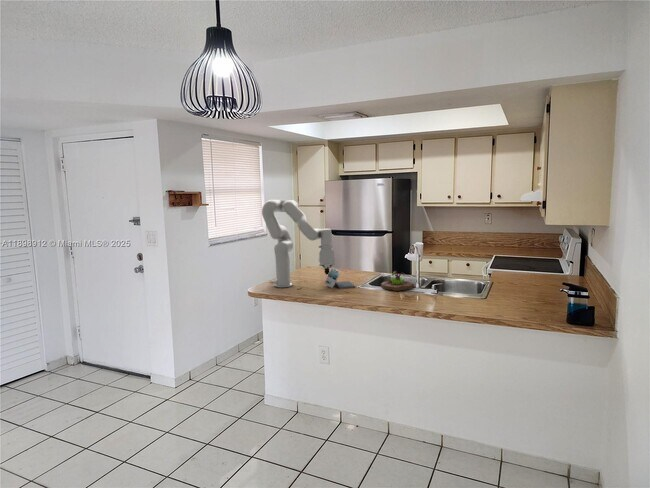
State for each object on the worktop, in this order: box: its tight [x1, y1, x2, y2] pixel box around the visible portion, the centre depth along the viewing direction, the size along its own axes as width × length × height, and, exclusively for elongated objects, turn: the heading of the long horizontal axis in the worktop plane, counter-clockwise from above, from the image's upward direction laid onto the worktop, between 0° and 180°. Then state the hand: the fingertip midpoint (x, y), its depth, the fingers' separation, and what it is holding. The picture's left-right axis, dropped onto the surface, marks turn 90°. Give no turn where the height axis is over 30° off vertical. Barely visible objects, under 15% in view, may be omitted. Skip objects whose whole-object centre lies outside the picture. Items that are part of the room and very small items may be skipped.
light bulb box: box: [323, 266, 342, 289], centre depth 271 cm, size 11×7×11 cm, turn 173°
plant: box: [380, 270, 415, 292], centre depth 268 cm, size 20×20×11 cm
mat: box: [334, 280, 356, 290], centre depth 274 cm, size 11×16×2 cm
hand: (327, 274), depth 272 cm, fingers closed
